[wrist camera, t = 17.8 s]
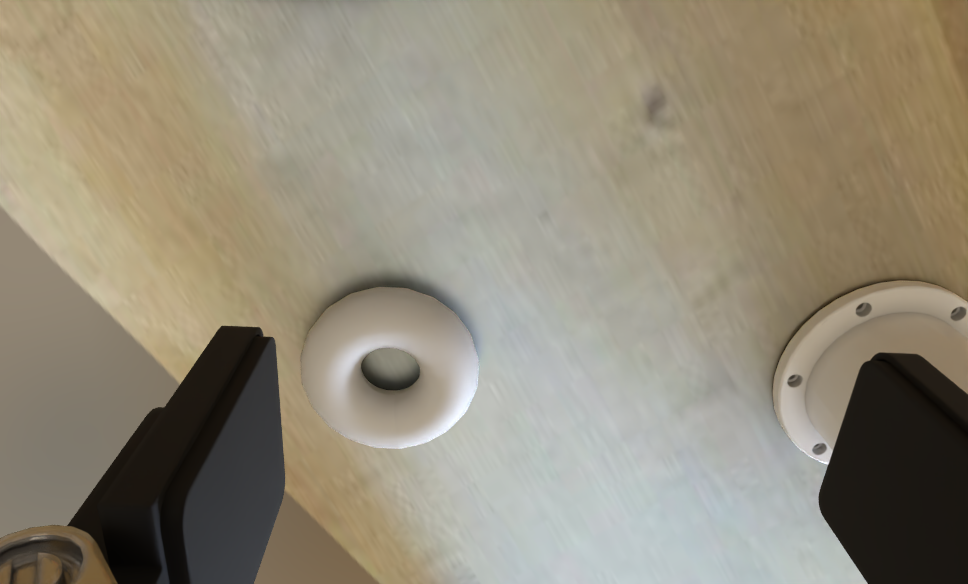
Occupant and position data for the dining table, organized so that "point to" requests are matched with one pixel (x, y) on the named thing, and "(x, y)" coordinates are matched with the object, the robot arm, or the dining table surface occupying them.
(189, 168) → the dining table surface
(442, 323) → the donut
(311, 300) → the dining table surface
